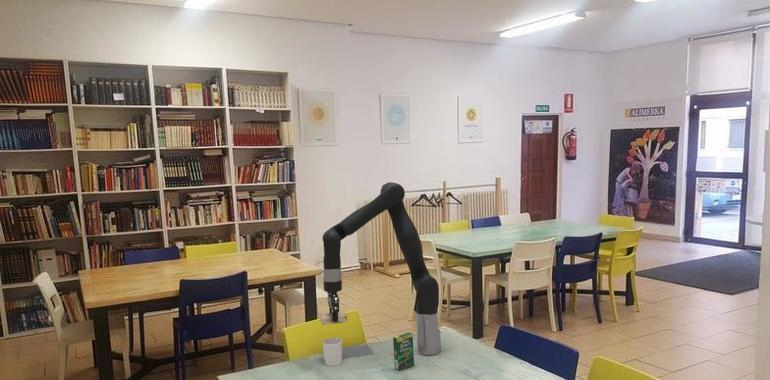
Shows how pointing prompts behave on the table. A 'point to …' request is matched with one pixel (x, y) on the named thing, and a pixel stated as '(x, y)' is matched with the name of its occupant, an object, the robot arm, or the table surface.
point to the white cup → (332, 351)
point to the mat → (356, 351)
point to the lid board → (328, 318)
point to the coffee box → (403, 351)
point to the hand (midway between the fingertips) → (333, 318)
